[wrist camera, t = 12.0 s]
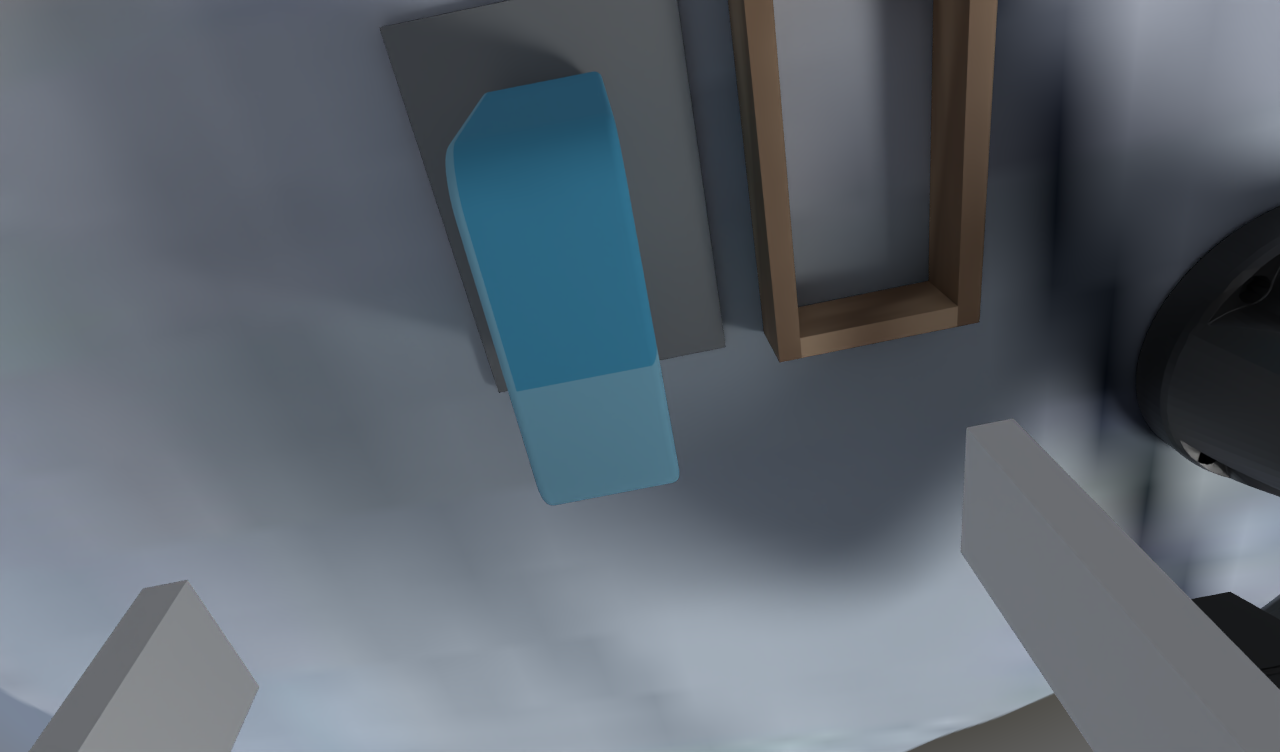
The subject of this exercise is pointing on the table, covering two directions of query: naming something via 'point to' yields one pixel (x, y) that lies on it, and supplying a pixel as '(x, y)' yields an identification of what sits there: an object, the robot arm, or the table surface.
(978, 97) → the walnut box
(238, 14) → the table surface
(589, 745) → the table surface
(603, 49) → the charcoal mat
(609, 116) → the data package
